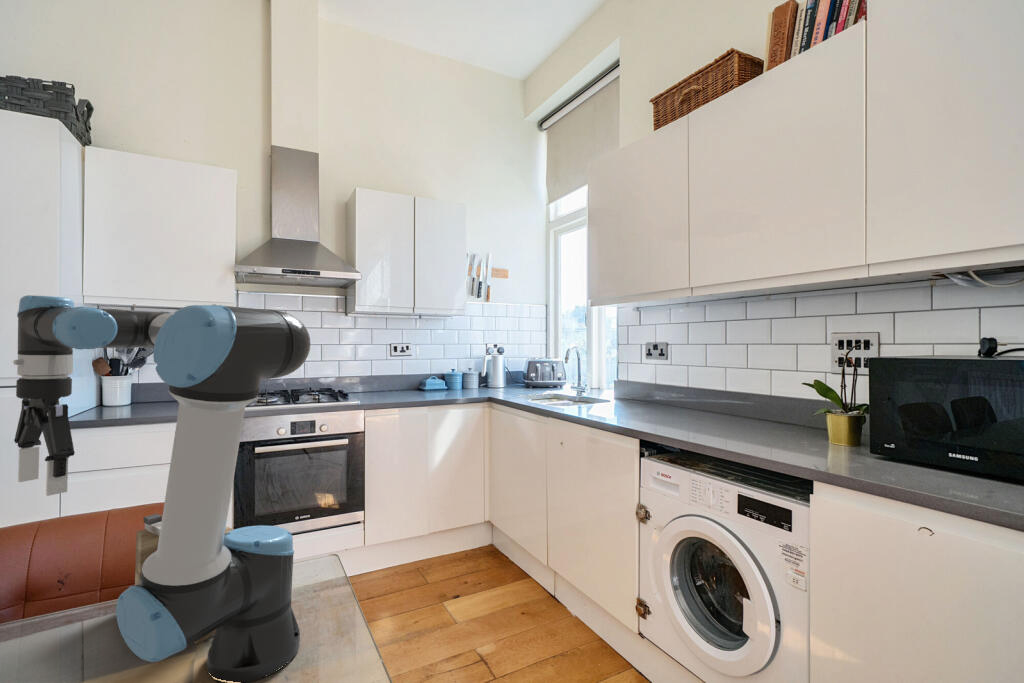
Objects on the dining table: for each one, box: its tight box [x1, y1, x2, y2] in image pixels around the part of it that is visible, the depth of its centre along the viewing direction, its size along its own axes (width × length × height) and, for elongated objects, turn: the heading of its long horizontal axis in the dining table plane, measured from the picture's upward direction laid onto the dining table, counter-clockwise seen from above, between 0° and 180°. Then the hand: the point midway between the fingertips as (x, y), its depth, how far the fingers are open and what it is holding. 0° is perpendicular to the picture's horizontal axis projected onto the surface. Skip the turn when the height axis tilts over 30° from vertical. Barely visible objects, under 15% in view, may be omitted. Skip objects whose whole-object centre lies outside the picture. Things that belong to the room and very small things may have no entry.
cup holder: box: [134, 513, 235, 645], centre depth 98 cm, size 24×9×19 cm, turn 62°
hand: (42, 486), depth 89 cm, fingers open, 13 cm apart
